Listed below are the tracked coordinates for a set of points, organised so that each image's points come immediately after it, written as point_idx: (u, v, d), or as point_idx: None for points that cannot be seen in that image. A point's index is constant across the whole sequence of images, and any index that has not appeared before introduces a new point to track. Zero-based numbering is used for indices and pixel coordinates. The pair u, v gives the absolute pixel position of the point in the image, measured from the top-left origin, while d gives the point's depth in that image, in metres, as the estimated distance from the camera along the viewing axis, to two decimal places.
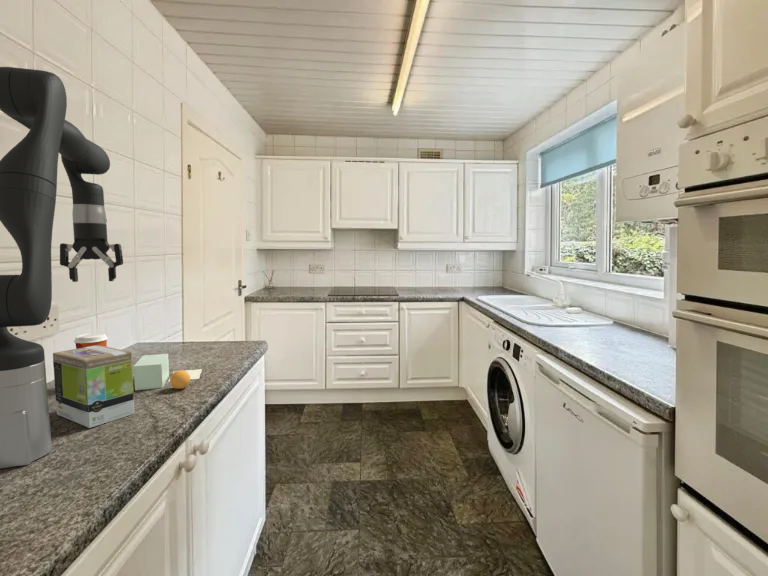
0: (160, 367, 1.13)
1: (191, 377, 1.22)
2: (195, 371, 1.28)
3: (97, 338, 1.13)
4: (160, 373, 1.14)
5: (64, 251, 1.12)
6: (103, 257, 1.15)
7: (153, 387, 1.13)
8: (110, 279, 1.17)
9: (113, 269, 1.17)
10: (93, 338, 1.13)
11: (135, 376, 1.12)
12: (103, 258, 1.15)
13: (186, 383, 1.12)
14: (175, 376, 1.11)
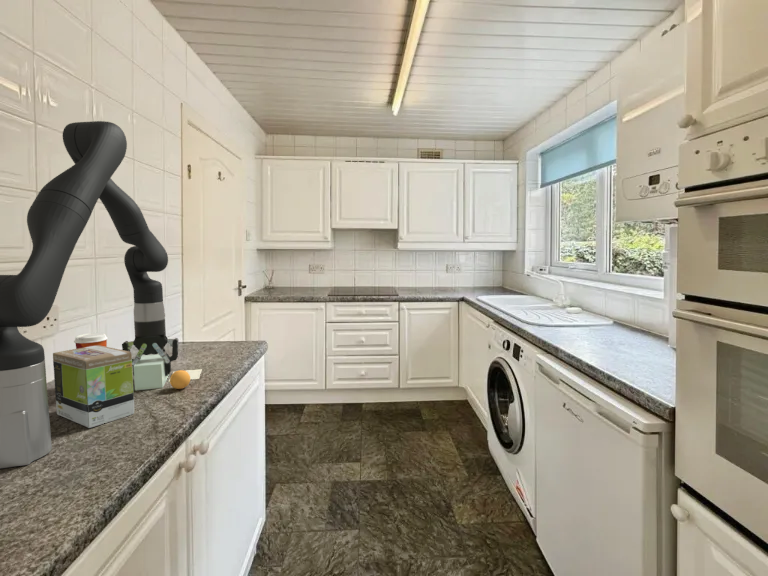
0: (160, 367, 1.13)
1: (191, 377, 1.22)
2: (195, 371, 1.28)
3: (97, 338, 1.13)
4: (160, 373, 1.14)
5: (126, 350, 1.15)
6: (161, 353, 1.17)
7: (153, 387, 1.13)
8: (166, 374, 1.18)
9: (169, 364, 1.19)
10: (93, 338, 1.13)
11: (135, 376, 1.12)
12: (161, 354, 1.17)
13: (186, 383, 1.12)
14: (175, 376, 1.11)
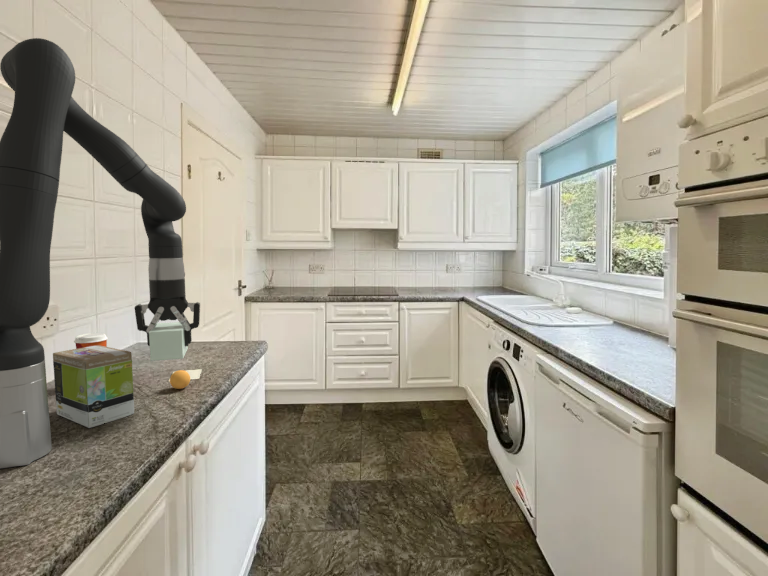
0: (180, 334, 0.96)
1: (191, 377, 1.22)
2: (195, 371, 1.28)
3: (97, 338, 1.13)
4: (180, 341, 0.96)
5: (140, 314, 0.97)
6: (180, 319, 0.99)
7: (172, 358, 0.95)
8: (186, 344, 1.01)
9: (189, 332, 1.01)
10: (93, 338, 1.13)
11: (151, 344, 0.94)
12: (180, 320, 0.99)
13: (186, 383, 1.12)
14: (175, 376, 1.11)
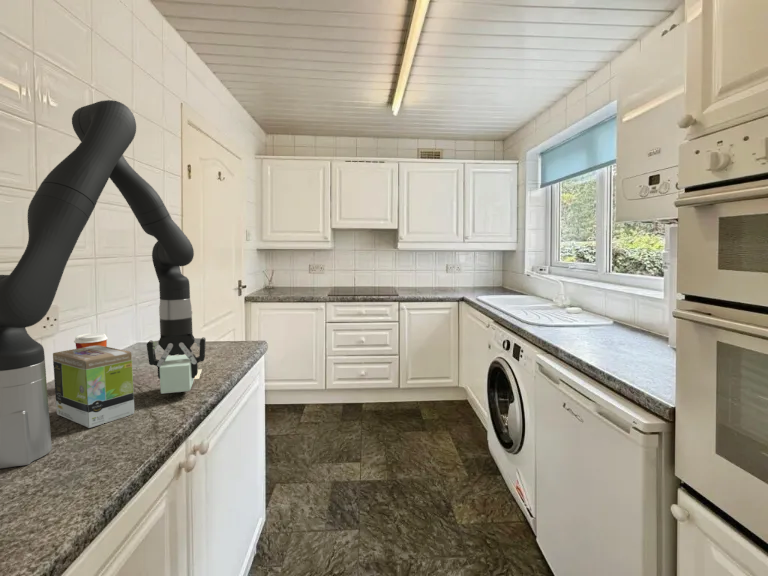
0: (187, 368, 1.05)
1: None
2: None
3: (97, 338, 1.13)
4: (187, 375, 1.06)
5: (151, 350, 1.07)
6: (188, 353, 1.09)
7: (180, 390, 1.05)
8: (193, 376, 1.10)
9: (196, 365, 1.11)
10: (93, 338, 1.13)
11: (161, 378, 1.04)
12: (188, 355, 1.09)
13: None
14: None
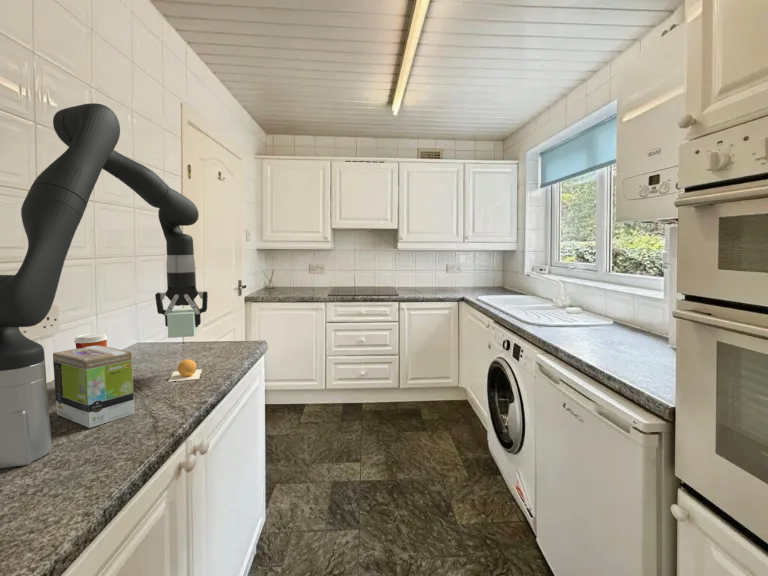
0: (192, 316, 1.19)
1: (191, 377, 1.22)
2: (195, 371, 1.28)
3: (97, 338, 1.13)
4: (192, 322, 1.19)
5: (159, 300, 1.20)
6: (192, 304, 1.22)
7: (185, 335, 1.18)
8: (196, 325, 1.23)
9: (199, 315, 1.24)
10: (93, 338, 1.13)
11: (168, 324, 1.17)
12: (192, 305, 1.22)
13: None
14: None
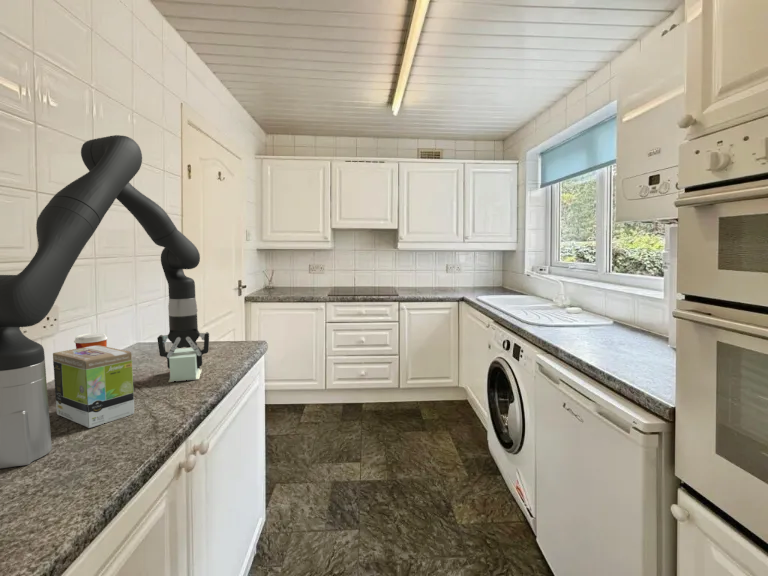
0: (194, 359, 1.20)
1: None
2: None
3: (97, 338, 1.13)
4: (194, 365, 1.20)
5: (162, 343, 1.21)
6: (194, 346, 1.23)
7: (187, 378, 1.20)
8: (198, 366, 1.25)
9: (200, 357, 1.25)
10: (93, 338, 1.13)
11: (170, 368, 1.18)
12: (194, 347, 1.23)
13: None
14: None
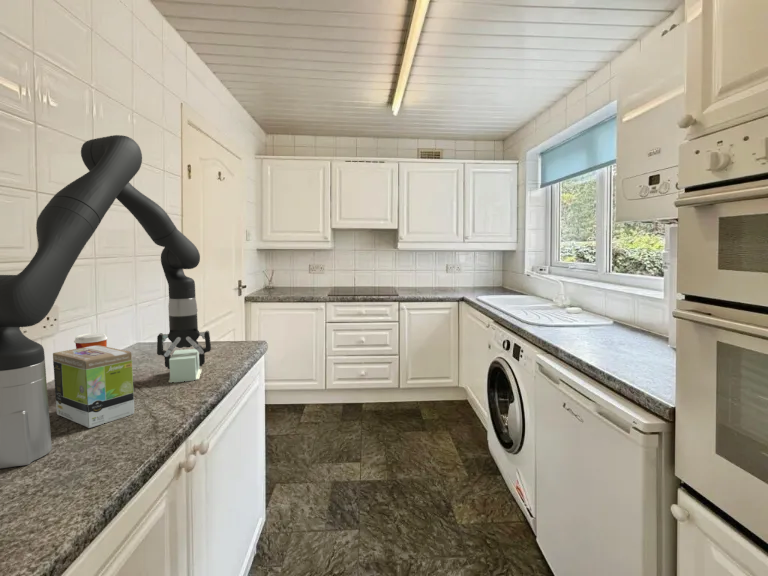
0: (194, 361, 1.20)
1: None
2: None
3: (97, 338, 1.13)
4: (194, 366, 1.20)
5: (161, 342, 1.21)
6: (195, 345, 1.23)
7: (187, 380, 1.20)
8: (200, 365, 1.25)
9: (203, 355, 1.25)
10: (93, 338, 1.13)
11: (170, 369, 1.18)
12: (195, 346, 1.23)
13: None
14: None
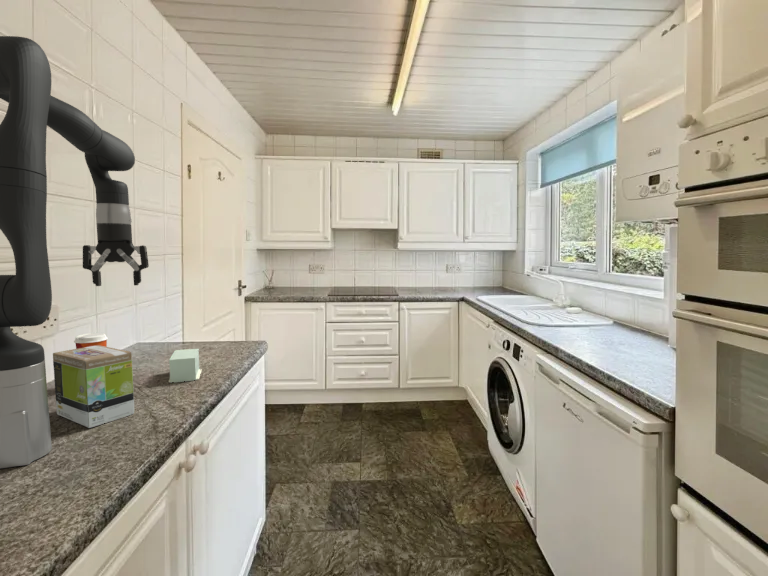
0: (194, 361, 1.20)
1: None
2: None
3: (97, 338, 1.13)
4: (194, 366, 1.20)
5: (87, 253, 1.05)
6: (128, 260, 1.08)
7: (187, 380, 1.20)
8: (135, 283, 1.09)
9: (138, 272, 1.10)
10: (93, 338, 1.13)
11: (170, 369, 1.18)
12: (128, 261, 1.08)
13: None
14: None
